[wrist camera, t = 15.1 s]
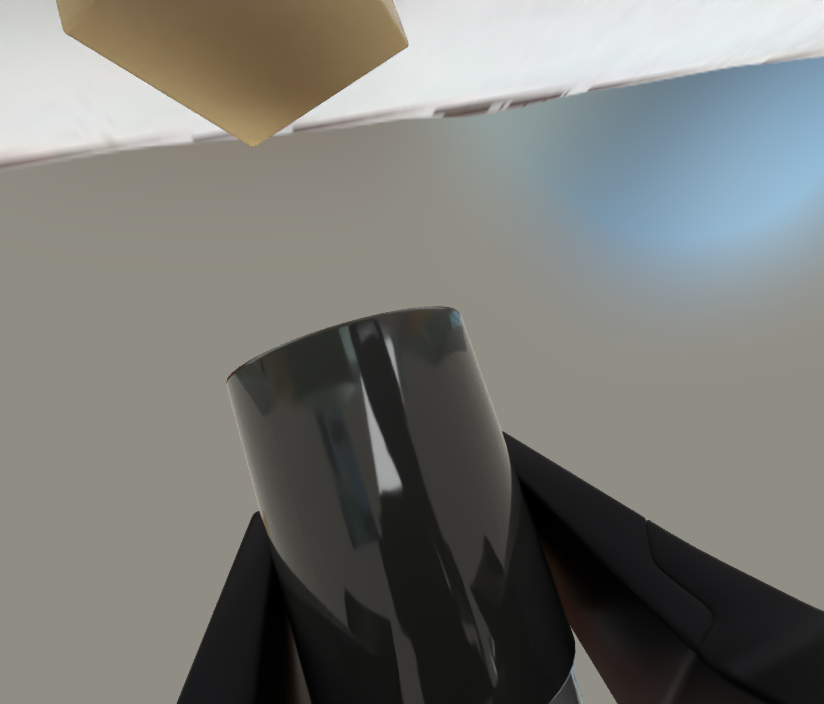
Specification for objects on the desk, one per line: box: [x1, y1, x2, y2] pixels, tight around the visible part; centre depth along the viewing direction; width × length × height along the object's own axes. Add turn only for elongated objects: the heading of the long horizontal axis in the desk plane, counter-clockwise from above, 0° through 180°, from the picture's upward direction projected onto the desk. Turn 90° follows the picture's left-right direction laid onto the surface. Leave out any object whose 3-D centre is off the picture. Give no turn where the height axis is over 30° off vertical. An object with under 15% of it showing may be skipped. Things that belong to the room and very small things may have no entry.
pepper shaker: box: [226, 307, 584, 704], centre depth 8 cm, size 4×4×7 cm
